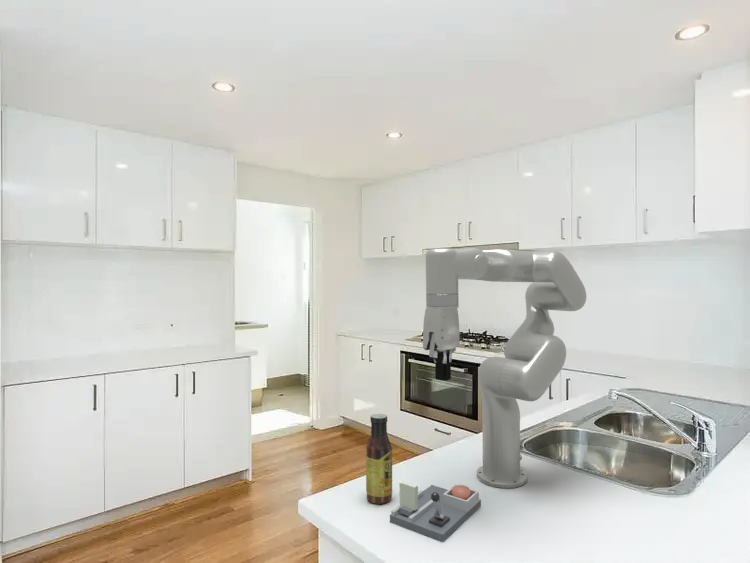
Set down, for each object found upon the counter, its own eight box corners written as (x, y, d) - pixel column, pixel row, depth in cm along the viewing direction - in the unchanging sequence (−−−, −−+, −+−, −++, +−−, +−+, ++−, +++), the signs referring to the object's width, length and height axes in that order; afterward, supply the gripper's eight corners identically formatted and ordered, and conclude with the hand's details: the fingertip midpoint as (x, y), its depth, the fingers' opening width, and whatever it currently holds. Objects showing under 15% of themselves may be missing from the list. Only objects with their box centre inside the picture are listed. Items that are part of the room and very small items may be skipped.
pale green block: (404, 506, 105) (404, 479, 105) (420, 512, 102) (420, 483, 102) (397, 512, 103) (397, 484, 102) (412, 517, 100) (412, 489, 100)
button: (457, 496, 110) (457, 483, 110) (473, 501, 107) (473, 488, 107) (449, 503, 107) (449, 489, 107) (465, 508, 104) (465, 494, 104)
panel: (431, 490, 116) (431, 475, 116) (480, 506, 108) (480, 489, 108) (389, 521, 102) (389, 504, 102) (442, 542, 94) (442, 523, 94)
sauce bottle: (390, 506, 109) (389, 421, 108) (363, 504, 110) (362, 419, 110) (394, 493, 115) (393, 412, 115) (369, 491, 116) (368, 411, 116)
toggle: (437, 513, 101) (432, 489, 99) (445, 516, 99) (440, 491, 97) (433, 519, 99) (428, 495, 97) (442, 522, 98) (436, 497, 96)
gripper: (443, 299, 118) (444, 371, 119) (411, 303, 106) (412, 383, 107) (471, 300, 114) (471, 375, 114) (440, 304, 102) (441, 388, 102)
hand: (443, 379), depth 110 cm, fingers closed
